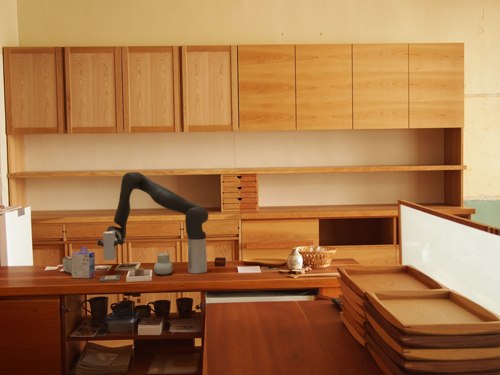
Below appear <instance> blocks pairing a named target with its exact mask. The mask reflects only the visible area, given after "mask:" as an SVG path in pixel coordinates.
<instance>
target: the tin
mask: <svg viewBox="0 0 500 375" xmlns="http://www.w3.org/2000/svg"><path fill="white" fill-rule="evenodd" d="M61 262H62V263H61V264H62V268H63V271H64V272H66V273H67V274H70V275H72V255H67V256H63V257H62V259H61Z"/></svg>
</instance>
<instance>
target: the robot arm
mask: <svg viewBox="0 0 500 375" xmlns="http://www.w3.org/2000/svg"><path fill="white" fill-rule="evenodd" d="M121 179H122V180H121V185H120V193H119V199H118V204H117V208H116V211H115V214H114V217H113V222H114V223H115V224H116V225H118V226H116V225H109V226H108V227H107V229H106V231H105V232H113V231H115V241H114V246H115V247H117V246H118V245H119V246H122V245H124V244H125V243H126V237H127V223H128V219H129V216H130V213H131V204H130V199H131V194H132V193H133V191H134V190H139V191H142V192H144V193H145V194H147V195H149V196H150V198H151V199H152V201H153V202H154V203H156V204H158V205H159V206H161V207H163V208H165V209H168V210H169V211H173V212H178V213H180V214H183V215H184V216H185V222H184V223H185V232H186V235H187V255H188V256H187V257H188V258H187V262H188V263H187V265H188V266H187V267H188V268H187V269H188V273H189V274H204V273H208V266H207V265H208V262H207V261H208V259H207V258H208V257H207V256H208V255H207V233H206V232H205V231H204V230H203V224H205V223H206V222H208V220H209V213H208V211H207V209H205V207H203V206H200V205H199V204H196V203H193V202H192V201H189V200H187V199H185V198H184V197H182V196H180V195H179V194H176V193H175V192H173V190H170V189H168V188H167V187H164V186H162V185H160V184H158V183H156V182H154V181H152V180H151V179H149V178H148V177H146V175H144V174H143V173H140V172H137V171H133V172H132V171H131V172H126V173H125V174H124V175H123V177H122V178H121ZM96 244H97V246H98V247H101V248H103V239H101V238H96Z"/></svg>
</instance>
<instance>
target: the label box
mask: <svg viewBox="0 0 500 375" xmlns="http://www.w3.org/2000/svg"><path fill="white" fill-rule="evenodd" d="M102 240H103V247H102V248H103V251H102V252H103V253H102V254H103V261H115V260H116V258H117V256H116V246H114V241H115V231H113V232H106V231H104V232H103V233H102Z"/></svg>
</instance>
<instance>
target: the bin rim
mask: <svg viewBox="0 0 500 375" xmlns="http://www.w3.org/2000/svg"><path fill="white" fill-rule="evenodd" d="M125 280H126V283H133V282H151V281H152V280H153V269H144V276H135V269H134V270H128V272H127V275H126V278H125Z"/></svg>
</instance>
